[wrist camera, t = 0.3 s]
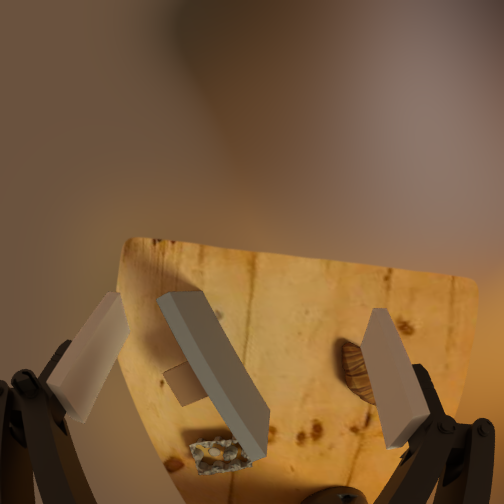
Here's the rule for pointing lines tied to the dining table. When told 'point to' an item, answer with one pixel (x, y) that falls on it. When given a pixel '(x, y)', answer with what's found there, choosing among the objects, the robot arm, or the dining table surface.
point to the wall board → (214, 370)
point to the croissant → (357, 372)
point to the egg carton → (228, 455)
